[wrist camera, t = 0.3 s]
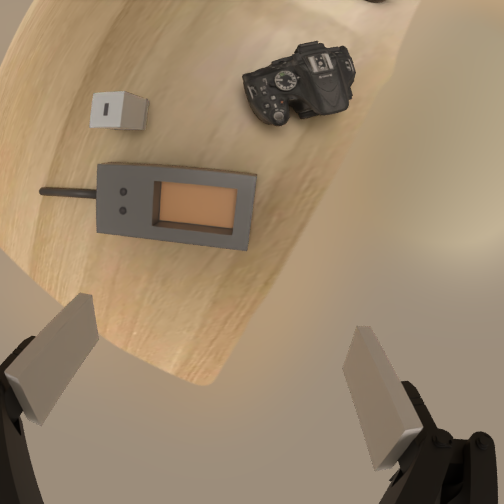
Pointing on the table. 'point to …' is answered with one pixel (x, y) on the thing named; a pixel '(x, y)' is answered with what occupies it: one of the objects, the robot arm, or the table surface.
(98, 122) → the block
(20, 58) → the table surface
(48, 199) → the table surface
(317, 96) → the camera
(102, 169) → the power strip
